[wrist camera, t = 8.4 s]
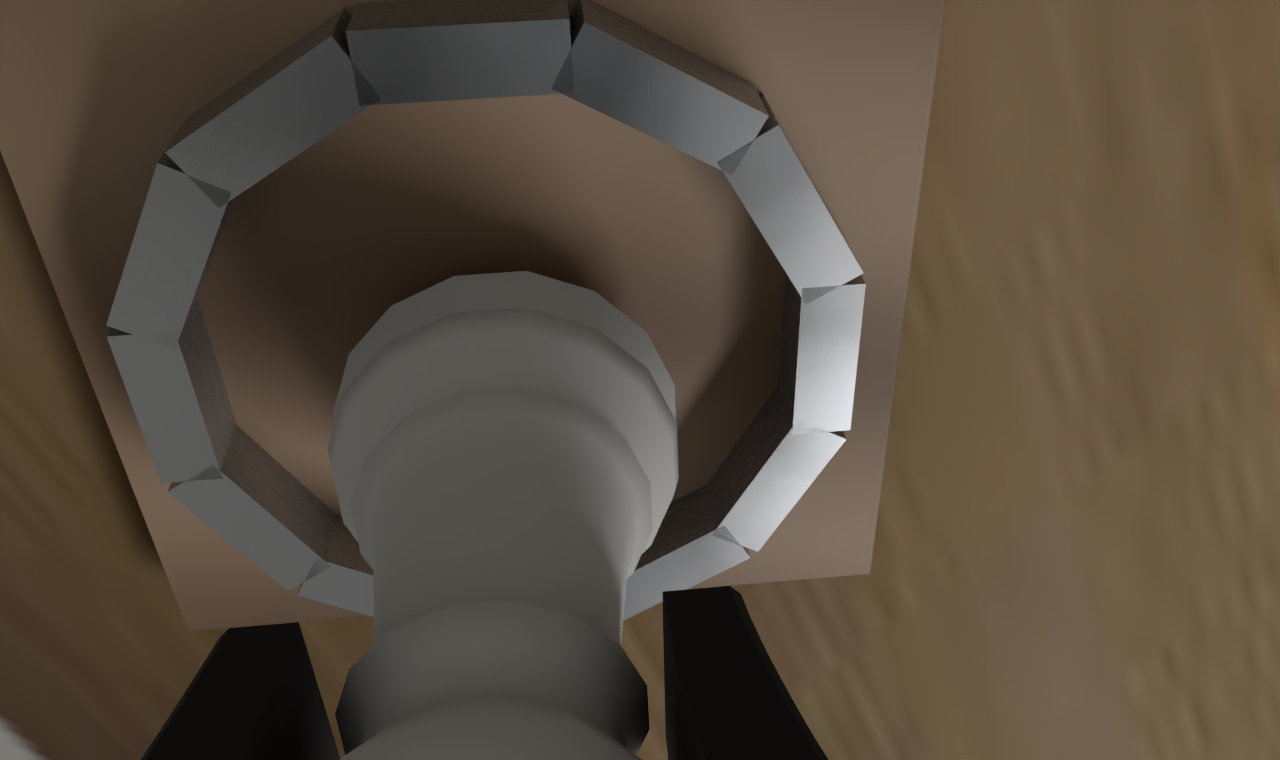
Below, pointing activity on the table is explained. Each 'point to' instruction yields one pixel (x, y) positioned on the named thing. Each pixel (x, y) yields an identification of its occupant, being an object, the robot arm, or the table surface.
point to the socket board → (474, 247)
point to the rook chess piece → (501, 519)
